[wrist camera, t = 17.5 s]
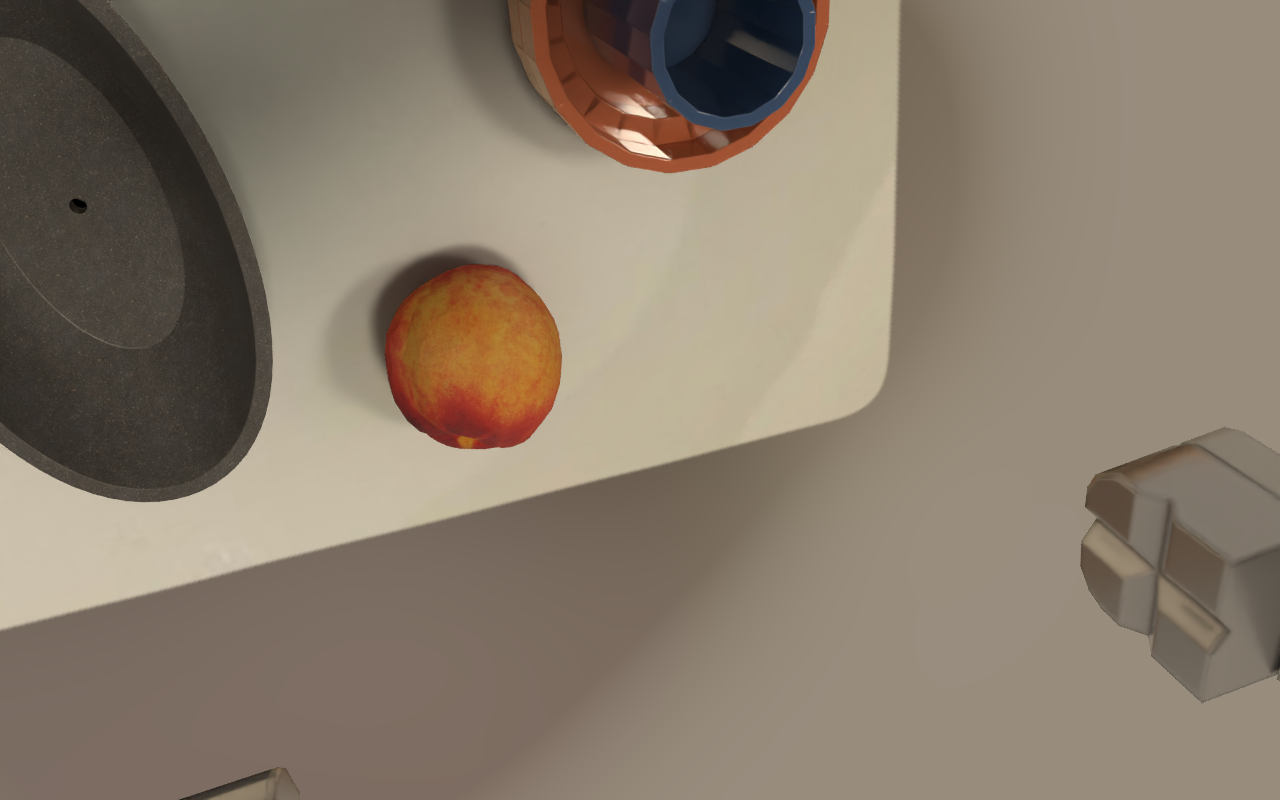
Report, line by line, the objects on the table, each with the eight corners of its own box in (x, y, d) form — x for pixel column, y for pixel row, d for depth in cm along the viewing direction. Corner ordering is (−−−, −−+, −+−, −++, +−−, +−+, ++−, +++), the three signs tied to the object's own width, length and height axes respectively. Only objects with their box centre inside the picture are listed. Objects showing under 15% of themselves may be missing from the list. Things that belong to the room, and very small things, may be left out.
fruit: (337, 345, 46) (350, 432, 40) (446, 208, 45) (478, 276, 38) (471, 425, 51) (503, 517, 44) (575, 303, 49) (624, 379, 43)
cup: (555, -28, 41) (620, 6, 34) (685, -109, 41) (778, -93, 34) (624, 104, 45) (696, 161, 37) (743, 29, 45) (839, 71, 37)
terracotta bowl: (668, -240, 39) (715, -247, 35) (826, 8, 46) (882, 27, 42) (442, -15, 41) (462, 4, 36) (628, 194, 47) (663, 230, 43)
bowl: (60, 462, 45) (33, 545, 40) (-263, -71, 33) (-359, -51, 28) (330, 379, 47) (338, 447, 42) (117, -151, 35) (92, -146, 30)
